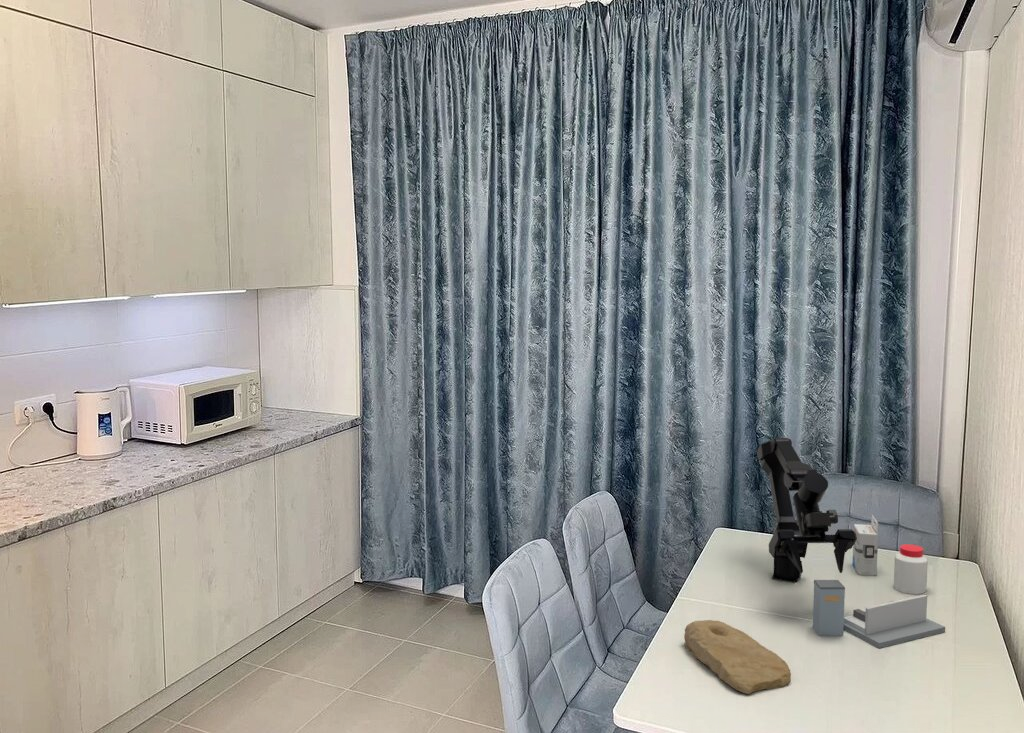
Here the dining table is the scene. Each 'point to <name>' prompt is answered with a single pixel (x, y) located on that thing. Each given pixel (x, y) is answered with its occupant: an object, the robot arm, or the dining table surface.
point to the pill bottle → (910, 570)
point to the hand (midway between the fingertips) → (821, 572)
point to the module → (828, 607)
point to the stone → (736, 656)
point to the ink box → (866, 548)
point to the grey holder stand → (892, 622)
